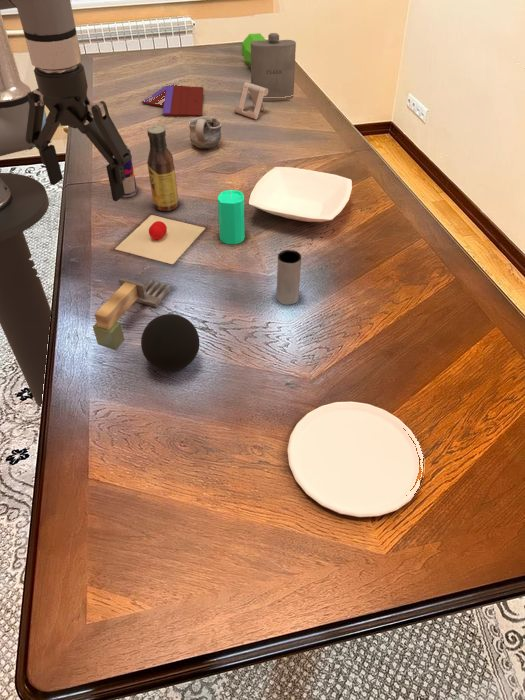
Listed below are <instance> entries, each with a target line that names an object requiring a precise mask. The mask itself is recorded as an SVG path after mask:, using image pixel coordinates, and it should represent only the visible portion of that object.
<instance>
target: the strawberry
mask: <svg viewBox="0 0 525 700" xmlns="http://www.w3.org/2000/svg"><path fill="white" fill-rule="evenodd" d="M166 232H167V227H166V225H165V224H164V223H163V222H161V221H156V222H154V223H153V224H152V225H151V226H150V228H149V235H150V237H151V238H153V239H155V240H159V239H161V238H162V237H163V236H164V235H165V234H166Z"/></svg>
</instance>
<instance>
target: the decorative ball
mask: <svg viewBox="0 0 525 700" xmlns="http://www.w3.org/2000/svg"><path fill="white" fill-rule="evenodd" d="M198 332H199V331H198V330H197V329H196V326H195V325H194V324H193V323H192V321H190V320H189V319H188V318H186V317H185V316H183V315H180V314H175V313H166V314H161V315H158V316H156V317H155V318H153V319H151V320H150V321H149V322H148V323H147V325H145V328H144V330H143V332H142V334H141V339H140V346H141V352H142V354H143V356H144V358H145V359H146V361H147V362H148V363H149V364H150V365H151V366H153V367H154V368H155V369H158V370H160V371H163V372H170V373H171V372H178V371H181V370H183V369H185V368H187V367H188V366H190V365H191V364H192V363H193V362H194V360H195V359H196V358H197V355H198V353H199V349H200V336H199V333H198Z"/></svg>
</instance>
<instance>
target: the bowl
mask: <svg viewBox="0 0 525 700" xmlns="http://www.w3.org/2000/svg"><path fill="white" fill-rule="evenodd" d="M352 189H353V182H352V179H351V178H348V177H344V176H341V175H338V174H334V173H327V172H322V171H318V170H317V171H316V170H311V169H305V168H299V167H291V166H274V167H273V168H272V169H270V170H269V171H267V172H266V173H265V174H264V175H263V176H262V177H261V178H260V179H259V180H258V181H257V182H256V184H254V187H253V189H252V191H251V193H250V196H249V200H248V205H249V206H251V207H254V208H256V209H258V210H261V211H262V212H265V213H268V214H271V215H274V216H278V217H282V218H283V219H289V220H293V221H299V222H305V223H306V222H307V223H325V222H330V221H333V220H334V219H335V218H336V217H337V216H338V215H339V214H340V213H341V212H342V211H343V210H344V209H345V206H346V205H347V203H348V202H349V200H350V197H351V193H352Z"/></svg>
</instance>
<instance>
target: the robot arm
mask: <svg viewBox="0 0 525 700" xmlns="http://www.w3.org/2000/svg"><path fill="white" fill-rule="evenodd" d="M11 9H16V10H17V13H18V16H19V20H20V24H21V27H22V32H23V34H24V38H25V39H24V40H25V41H26V47H27V50H28V54H29V59H30V62H31V65H32V66H33V67H34V69H33V73H34V77H35V80H36V85H37V88H36V89H34V90H31V87H30V86H29V85H28V84H26V83H24V82H23V81H22V80H21V77H20V74H19V70H18V67H17V63H16V60H15V56H14V53H13V49H12V45H11V44H10V40H9V36H8V32H7V29H6V26H5V22H4V19H3V15H2V13H1V11H2V10H11ZM78 37H79V36H78V34H77V28H76V23H75V18H74V13H73V7H72V2H71V0H0V157H3V156H7V155H10V154H15V153H20V152H24V151H31V150H33V149H34V148H36V149H37V151H38V154H39V157H40V160H41V164H42V165H43V166H45V167H44V168H45V169H46V173H47V177H48V180H49V183H50V185H51V186H55V185H57V184H58V183H59V182H61V181H62V180H63V179H64V177H63V173H62V170H61V166H60V162H59V157H58V153H57V152H56V147H55V145H54V144H51V143H52V142H53V141H52V139H53V138H54V135H55V133H56V131H57V130H58V128H59V126H62V127H70V128H72V129H77V130H78V131H79V132H80V133H81V134H83V135H85V136H86V137H87V139H88V140H89V141H90V142H91V143H92V145H93V146H94V147H95V148H96V150H98V153H100V155H101V156H102V157H103V158H104V159H105V160H106V162H107V163H108V164H107V165H106V166H105V167H106V172H107V173H106V174H107V178H108V183H109V187H110V193H111V197H112V201H113V202H119V200H121V198H123V196H124V195H125V192H124V186H123V181H124V180H125V175H124V169H123V165H124V164H126V163H127V162H128V161H130V160H131V159H132V160H133V156H132V153H131V154H130V152H131V151H130V152H129V150H128V149H127V147H126V145H127V144H126V143H125V141H124V140H123V137H122V136H121V134H120V132H119V131H118V129H117V127H116V125H115V123H114V122H113V119H112V118H111V116H110V113H109V111H108V110H109V109H108V105H107V103H106V102H105V101H104V100H100V101H99V102H97V103H96V102H91V101H90V100H89V97H88V89H89V88H88V86H89V85H88V81H87V76H86V71H85V67H84V65H83V64H82V61H83V56H82V53H81V48H80V43H79V39H78ZM46 108H47V110H48V111H49V112H48V114H47V113H46V110H45V109H46ZM87 122H88V123H87ZM86 123H87V124H86ZM113 156H114V157H115V158H113ZM11 201H12V196H11V193H10V190H9V188H8V187H7V186H6V184H5V183H4V182H3V180H2V179H1V178H0V211H2V210H3V209H5V208H6V207H7V206H8V205H9V204H10V203H11Z"/></svg>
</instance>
